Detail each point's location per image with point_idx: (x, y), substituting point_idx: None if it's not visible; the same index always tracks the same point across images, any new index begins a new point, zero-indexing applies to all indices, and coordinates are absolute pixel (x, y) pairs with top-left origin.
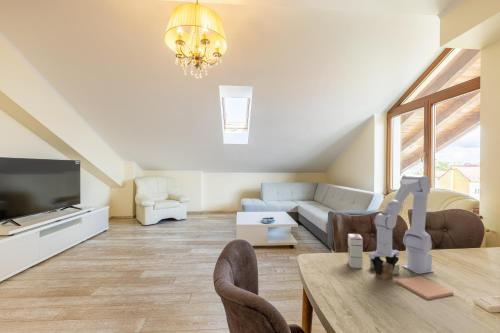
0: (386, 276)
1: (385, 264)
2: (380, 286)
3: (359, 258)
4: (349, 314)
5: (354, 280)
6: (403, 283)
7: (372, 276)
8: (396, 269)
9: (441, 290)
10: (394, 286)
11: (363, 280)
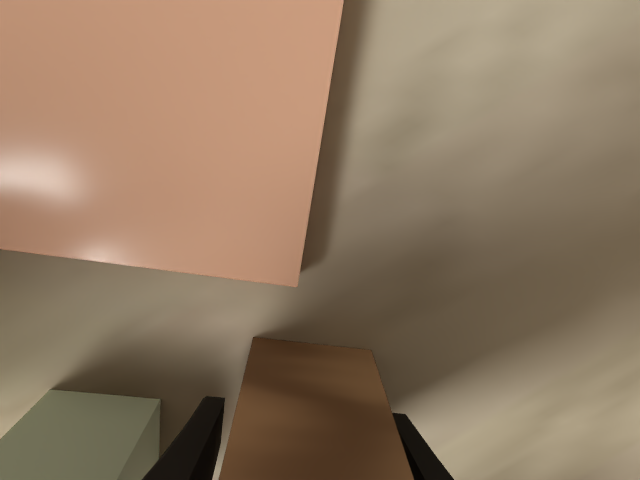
0: (342, 373)
1: None
2: (541, 280)
3: None
4: None
5: (621, 435)
6: (298, 187)
7: None
8: (53, 439)
9: None
10: (409, 220)
11: (555, 411)
